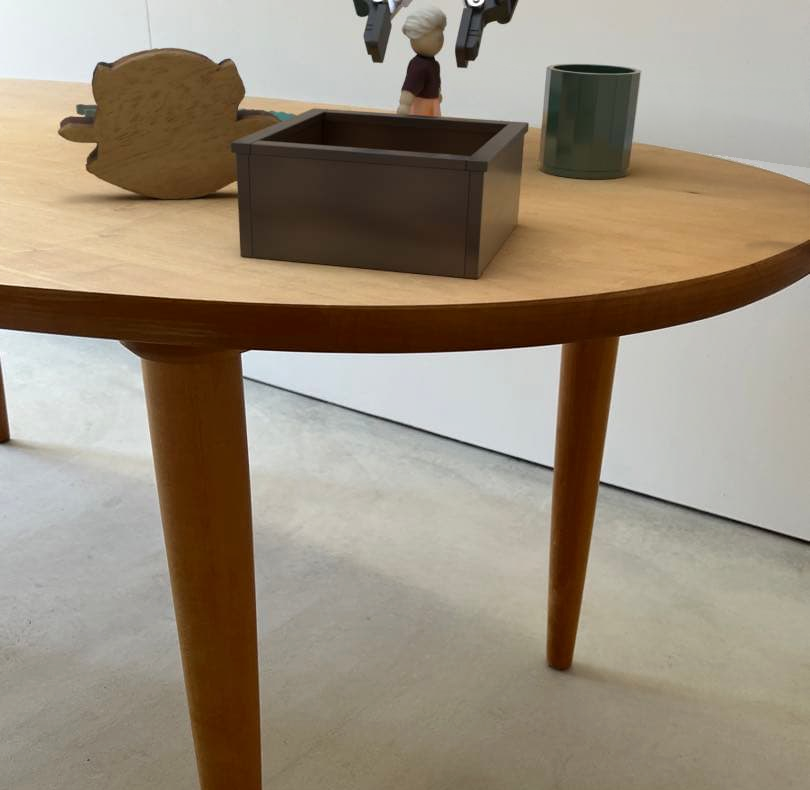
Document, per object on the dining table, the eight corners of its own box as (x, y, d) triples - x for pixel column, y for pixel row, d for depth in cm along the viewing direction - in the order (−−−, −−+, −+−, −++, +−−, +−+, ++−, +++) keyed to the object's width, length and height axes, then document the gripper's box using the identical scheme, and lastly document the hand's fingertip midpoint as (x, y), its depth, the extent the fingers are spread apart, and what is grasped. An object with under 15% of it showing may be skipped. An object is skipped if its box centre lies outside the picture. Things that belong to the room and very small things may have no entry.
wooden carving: (284, 185, 85) (280, 44, 81) (299, 198, 82) (296, 50, 77) (63, 194, 81) (45, 44, 76) (67, 208, 77) (49, 51, 72)
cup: (631, 165, 97) (644, 66, 93) (625, 182, 90) (637, 76, 87) (545, 159, 98) (553, 61, 95) (532, 175, 92) (541, 70, 88)
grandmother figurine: (437, 192, 85) (445, 8, 79) (388, 188, 85) (392, 6, 79) (452, 173, 91) (460, 3, 85) (406, 170, 92) (411, 1, 86)
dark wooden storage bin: (521, 223, 76) (528, 122, 73) (480, 280, 64) (487, 161, 61) (314, 205, 80) (312, 108, 76) (235, 256, 67) (230, 142, 64)
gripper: (361, -165, 85) (314, 16, 80) (548, -162, 82) (510, 25, 77) (378, -84, 92) (336, 86, 87) (551, -79, 89) (516, 97, 84)
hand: (418, 57), depth 82 cm, fingers open, 6 cm apart
